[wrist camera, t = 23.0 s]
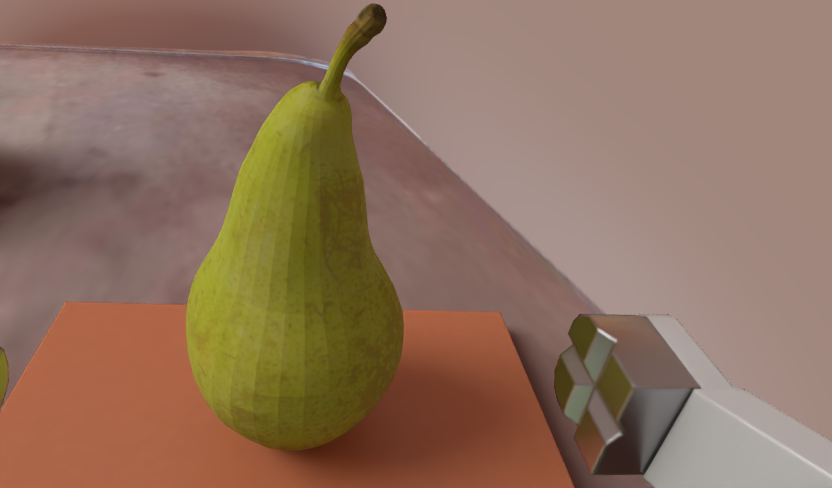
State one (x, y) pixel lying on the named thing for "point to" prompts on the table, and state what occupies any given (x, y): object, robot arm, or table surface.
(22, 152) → the table surface
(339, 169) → the fruit
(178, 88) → the table surface
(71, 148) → the table surface
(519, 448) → the sorting board
